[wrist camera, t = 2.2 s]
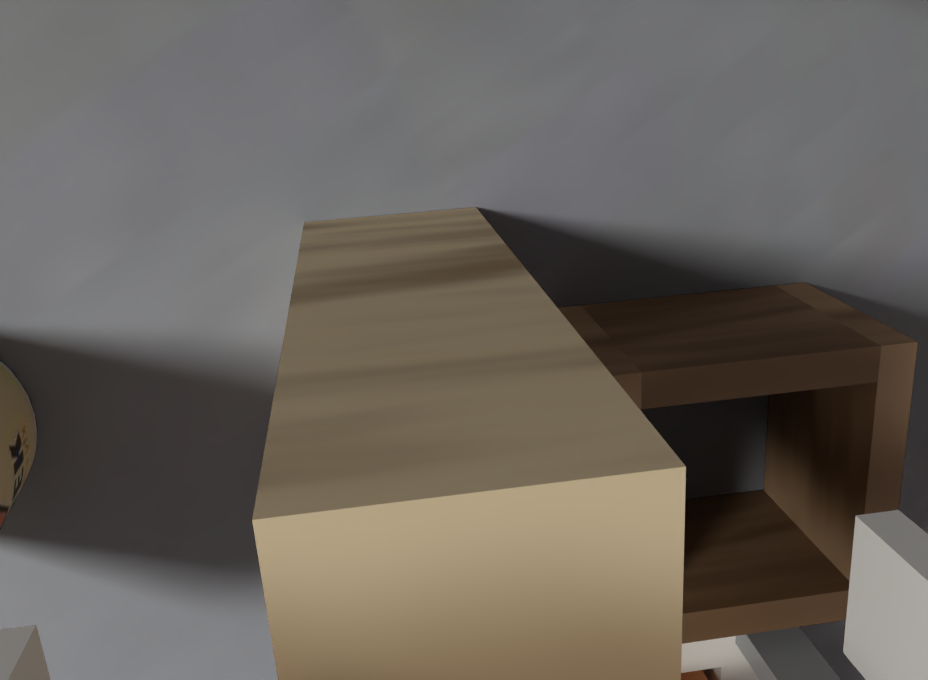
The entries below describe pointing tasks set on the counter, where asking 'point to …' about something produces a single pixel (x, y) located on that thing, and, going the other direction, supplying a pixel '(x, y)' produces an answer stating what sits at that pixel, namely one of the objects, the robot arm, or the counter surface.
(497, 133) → the counter surface
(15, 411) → the coffee cup
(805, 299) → the holder
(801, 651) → the grey frame
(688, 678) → the orange cube
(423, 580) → the tan wooden block
